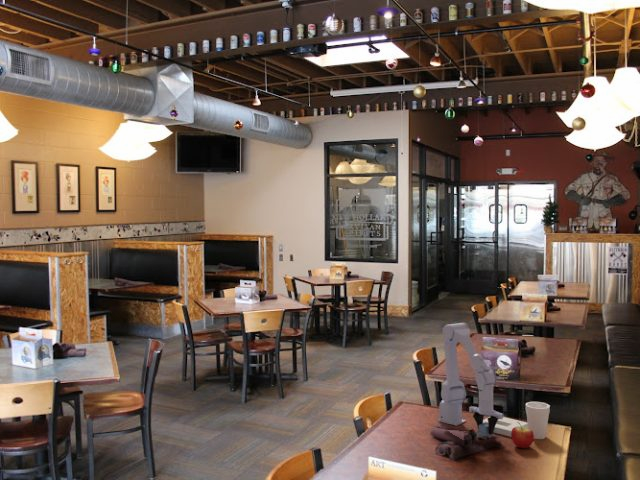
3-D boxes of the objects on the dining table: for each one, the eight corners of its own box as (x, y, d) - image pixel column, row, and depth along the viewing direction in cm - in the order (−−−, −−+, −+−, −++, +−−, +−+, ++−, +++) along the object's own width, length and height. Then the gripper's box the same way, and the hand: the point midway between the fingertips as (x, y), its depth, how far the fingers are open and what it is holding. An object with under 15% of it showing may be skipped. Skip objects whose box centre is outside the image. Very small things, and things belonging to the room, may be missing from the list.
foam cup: (546, 432, 264) (546, 402, 264) (552, 440, 255) (552, 408, 254) (523, 432, 265) (523, 401, 264) (528, 440, 256) (528, 408, 255)
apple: (510, 442, 254) (510, 417, 253) (533, 444, 252) (533, 419, 251) (511, 449, 246) (511, 424, 245) (534, 451, 244) (534, 426, 243)
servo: (483, 441, 255) (483, 426, 255) (476, 439, 257) (476, 424, 257) (497, 434, 263) (497, 419, 263) (490, 432, 266) (490, 417, 265)
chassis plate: (477, 428, 270) (477, 422, 270) (494, 420, 280) (494, 414, 280) (512, 437, 259) (512, 431, 259) (528, 428, 269) (528, 422, 269)
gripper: (465, 398, 261) (465, 430, 262) (497, 405, 251) (497, 439, 252) (474, 394, 266) (474, 426, 267) (505, 401, 256) (505, 434, 257)
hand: (485, 432), depth 260 cm, fingers open, 4 cm apart
